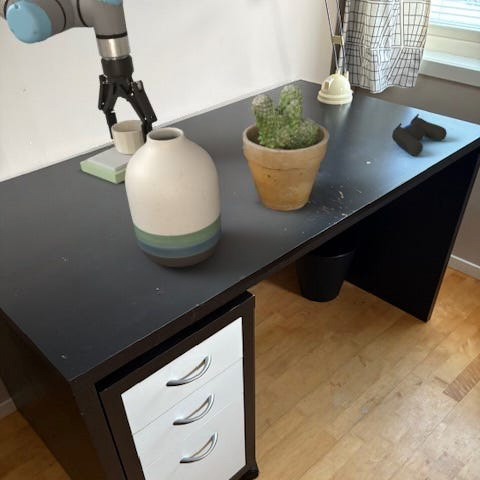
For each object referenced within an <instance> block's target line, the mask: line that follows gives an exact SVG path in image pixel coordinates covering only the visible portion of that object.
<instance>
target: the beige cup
mask: <svg viewBox="0 0 480 480" xmlns="http://www.w3.org/2000/svg"><path fill="white" fill-rule="evenodd" d="M141 125H142V121H141V120H140V119H127V120H122V121H119V122H117V123H116V124H114V125H113V126H112V128H111V130H112V135H113V144H114V146H115V149H116V150H117V151H118V152H120V153H122V154H135V152H136V151H137V150H139V149H140V148H141V147H142V146H143V145H144V140H143V135H142V129H141Z"/></svg>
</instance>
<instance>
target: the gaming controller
mask: <svg viewBox="0 0 480 480" xmlns="http://www.w3.org/2000/svg"><path fill="white" fill-rule="evenodd" d="M419 115H420V114H419V113H417V114H416V115H415V116H414V117H413V118H412V119H411V121H410V122H409V124H407V125H405V126H404V127H402V123H401V122H400V123H399V124H398V125H397V126H396V127H395V128H393V131H392V136H391V137H392V140H393V141H394V142H395V143H396V145H397V146H398V148H401V149H402V150H403V151H405V152H406V153H408V155H411V156H413V157H415V156H419V155H420V154H421V153H422V152H423V149H424V145H423V143H421V140H423V138H427V139H430V140H433V141H436V142H441V141H442V140H443V141H444V139H445V138H446V137H447V134H448V131H447V130H446V128H445V127H443V126H441V125H438V124H435V123H432V122H429V121H427V120H425V119H424V118H422V117H419Z"/></svg>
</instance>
